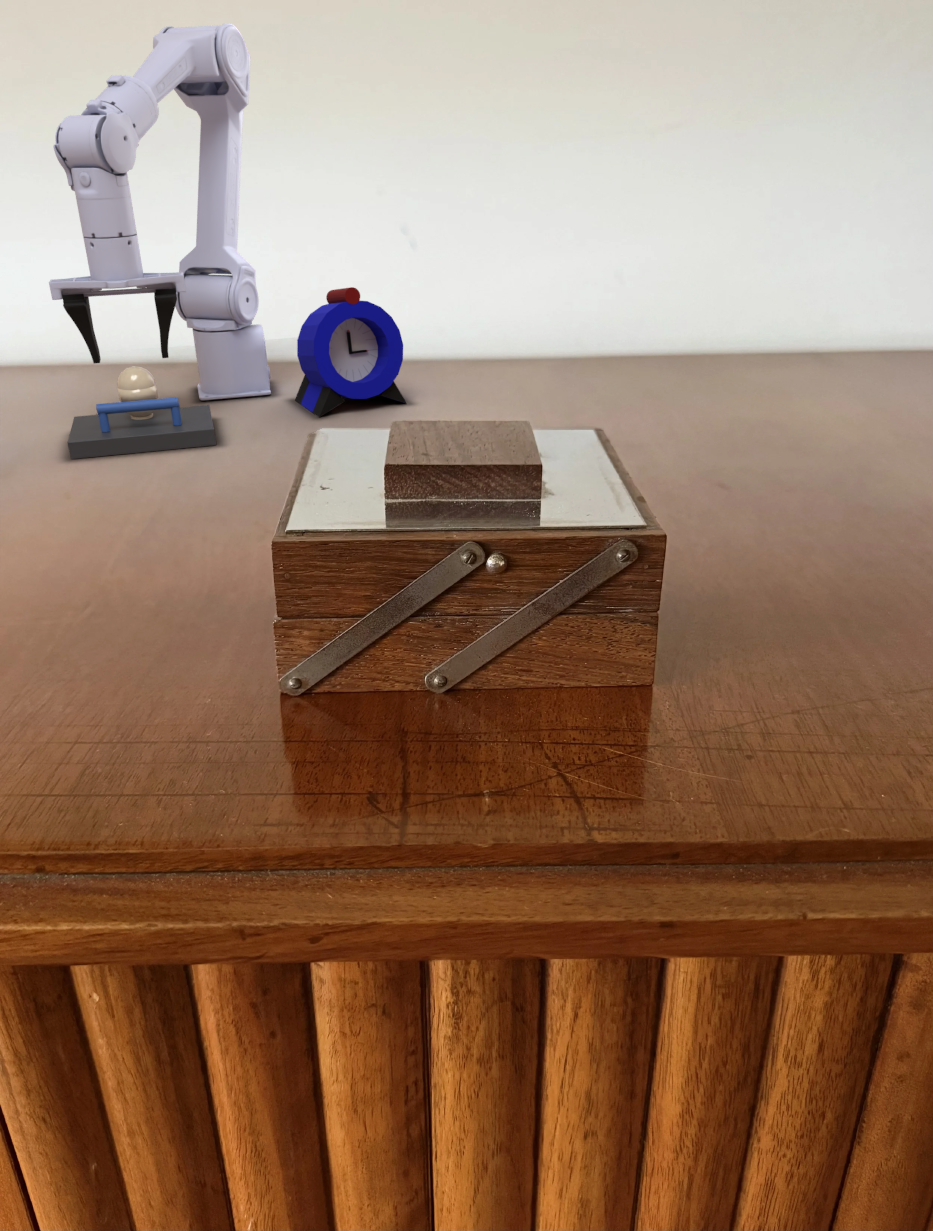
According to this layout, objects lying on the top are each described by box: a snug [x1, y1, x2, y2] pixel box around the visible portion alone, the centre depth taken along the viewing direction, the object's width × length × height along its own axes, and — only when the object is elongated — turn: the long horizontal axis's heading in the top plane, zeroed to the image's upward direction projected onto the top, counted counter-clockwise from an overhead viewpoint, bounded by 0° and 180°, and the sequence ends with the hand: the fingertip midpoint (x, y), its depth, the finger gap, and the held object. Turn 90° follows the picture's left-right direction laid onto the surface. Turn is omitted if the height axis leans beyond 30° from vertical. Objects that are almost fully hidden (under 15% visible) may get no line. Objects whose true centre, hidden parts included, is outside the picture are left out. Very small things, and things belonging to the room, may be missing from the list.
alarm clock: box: [294, 286, 408, 418], centre depth 128 cm, size 12×12×15 cm
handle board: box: [67, 396, 217, 460], centre depth 116 cm, size 16×11×5 cm
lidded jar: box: [116, 365, 159, 420], centre depth 117 cm, size 4×4×6 cm
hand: (131, 358), depth 116 cm, fingers open, 7 cm apart
